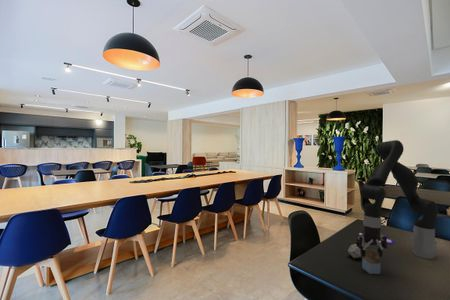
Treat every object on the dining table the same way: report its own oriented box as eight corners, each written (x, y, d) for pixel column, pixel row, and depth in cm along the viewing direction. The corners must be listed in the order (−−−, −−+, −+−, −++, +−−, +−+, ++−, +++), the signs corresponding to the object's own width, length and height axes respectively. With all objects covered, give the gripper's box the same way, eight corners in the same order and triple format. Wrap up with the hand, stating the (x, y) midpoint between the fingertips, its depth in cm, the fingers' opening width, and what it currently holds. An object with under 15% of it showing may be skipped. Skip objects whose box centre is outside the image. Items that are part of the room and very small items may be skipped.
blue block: (372, 267, 114) (372, 258, 114) (380, 273, 108) (380, 263, 108) (362, 267, 114) (362, 258, 114) (369, 273, 108) (369, 263, 108)
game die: (358, 265, 123) (369, 256, 117) (343, 258, 124) (353, 249, 118) (357, 252, 130) (366, 243, 124) (342, 245, 131) (351, 236, 125)
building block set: (385, 248, 139) (385, 241, 139) (352, 236, 156) (352, 230, 156) (401, 240, 152) (401, 233, 152) (369, 230, 169) (369, 224, 169)
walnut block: (372, 258, 113) (372, 249, 113) (378, 263, 109) (379, 253, 109) (364, 258, 113) (364, 249, 113) (370, 263, 109) (370, 253, 109)
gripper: (380, 222, 115) (379, 252, 115) (353, 222, 115) (353, 252, 115) (391, 227, 107) (390, 260, 107) (363, 227, 107) (362, 260, 107)
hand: (371, 256), depth 111 cm, fingers open, 8 cm apart
